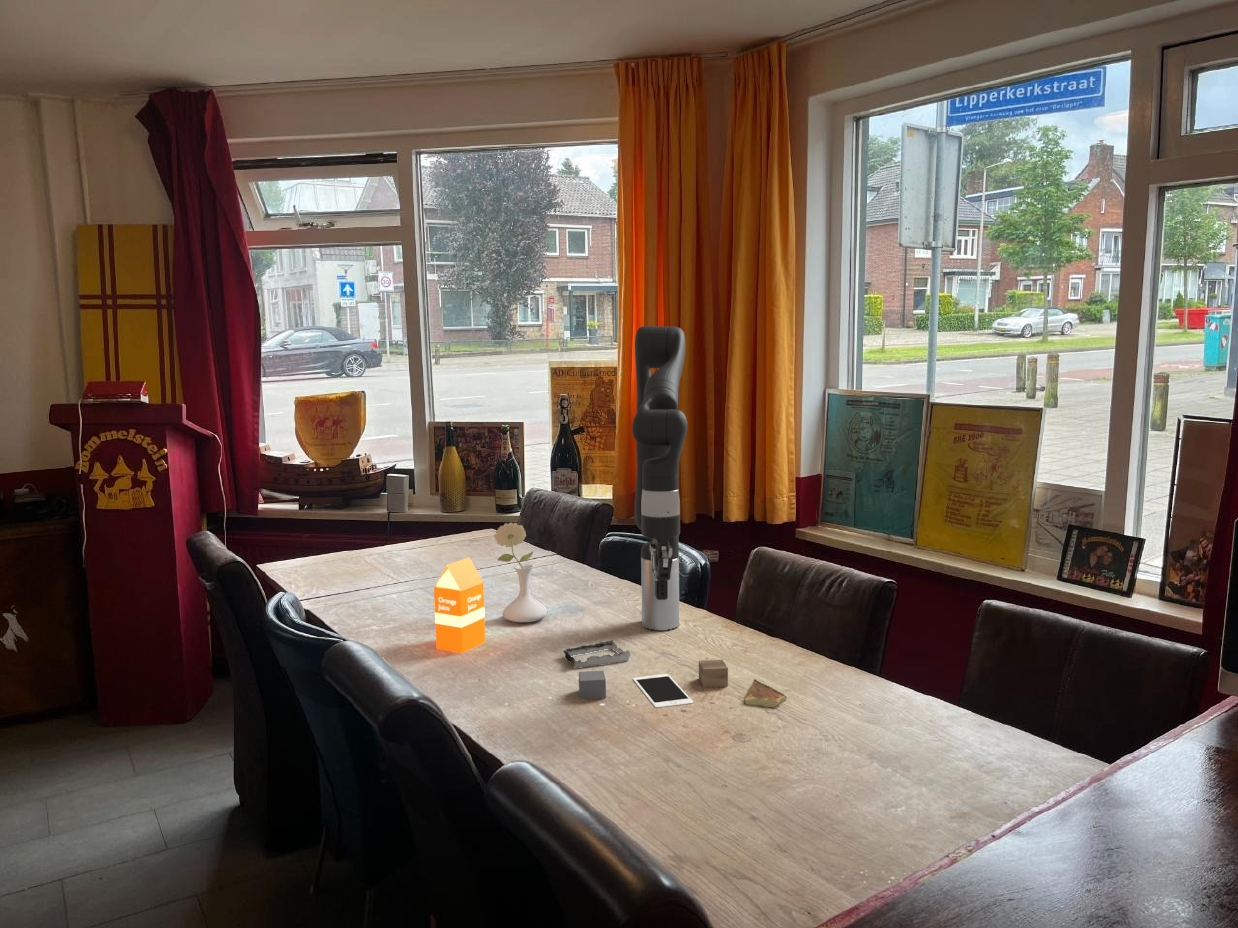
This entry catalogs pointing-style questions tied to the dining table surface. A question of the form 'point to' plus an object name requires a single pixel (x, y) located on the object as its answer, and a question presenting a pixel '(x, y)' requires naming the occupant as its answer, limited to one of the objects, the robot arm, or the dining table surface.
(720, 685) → the walnut block
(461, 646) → the orange juice
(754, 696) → the shard
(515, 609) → the flower in vase
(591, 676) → the charcoal block
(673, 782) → the dining table surface
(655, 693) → the cell phone
